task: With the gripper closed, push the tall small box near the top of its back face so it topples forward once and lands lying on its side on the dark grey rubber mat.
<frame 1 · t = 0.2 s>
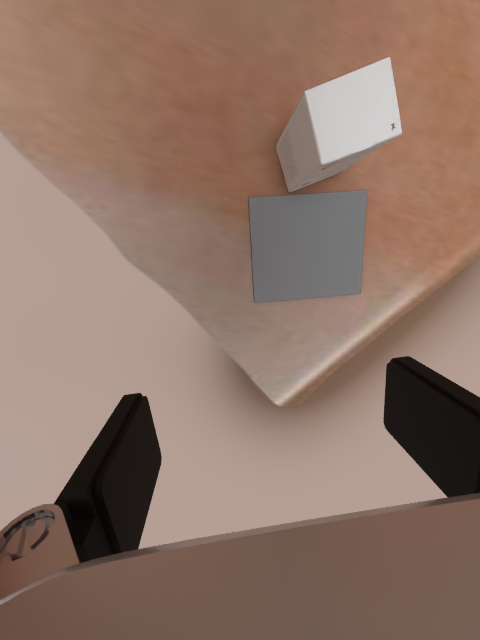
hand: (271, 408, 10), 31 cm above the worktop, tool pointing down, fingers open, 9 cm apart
small box: (307, 159, 36), on the worktop
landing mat: (307, 248, 39), on the worktop
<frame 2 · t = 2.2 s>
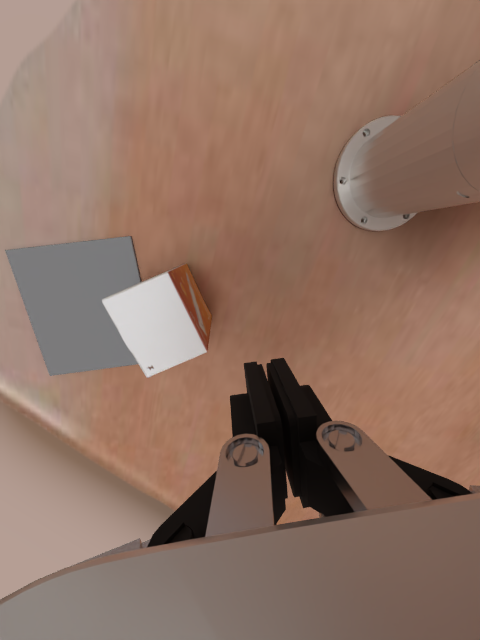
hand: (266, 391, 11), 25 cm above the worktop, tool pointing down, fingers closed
small box: (179, 298, 35), on the worktop
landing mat: (89, 309, 34), on the worktop
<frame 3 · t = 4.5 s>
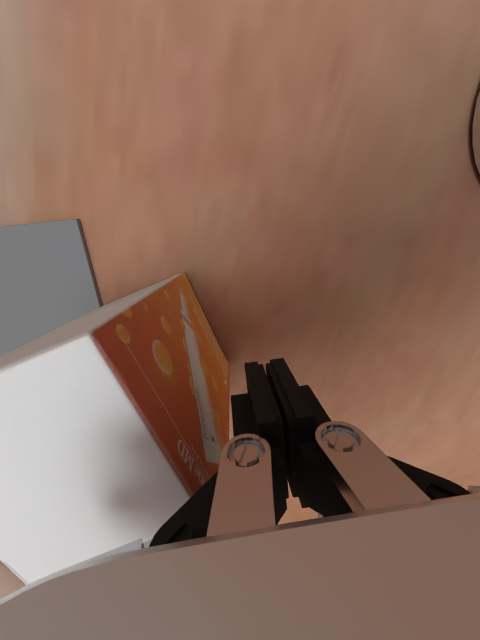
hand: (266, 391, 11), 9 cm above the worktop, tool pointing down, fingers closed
small box: (172, 334, 20), on the worktop, touching gripper
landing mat: (8, 353, 19), on the worktop
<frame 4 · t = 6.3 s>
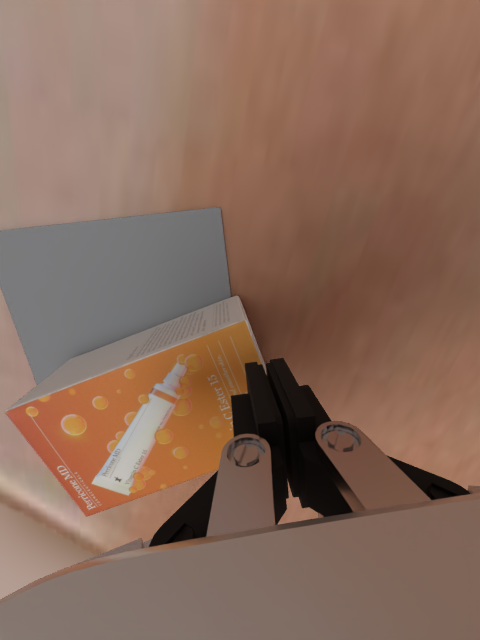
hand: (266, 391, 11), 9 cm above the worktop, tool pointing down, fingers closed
small box: (267, 358, 16), point 4 cm above the worktop, touching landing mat
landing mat: (134, 342, 19), on the worktop
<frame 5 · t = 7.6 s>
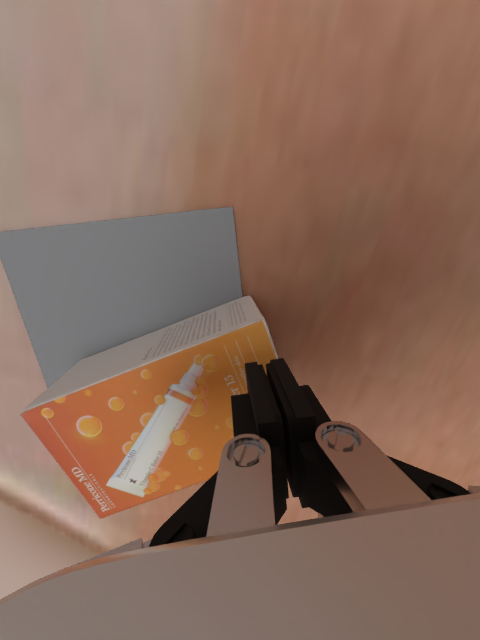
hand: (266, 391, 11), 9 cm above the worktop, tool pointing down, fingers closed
small box: (280, 358, 16), point 4 cm above the worktop, touching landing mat
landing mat: (144, 342, 19), on the worktop
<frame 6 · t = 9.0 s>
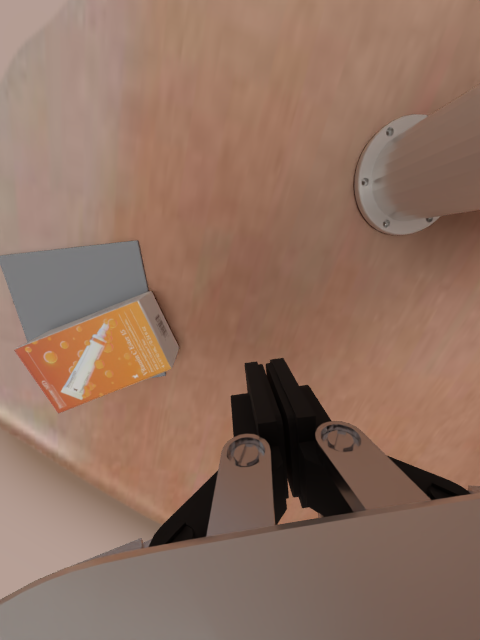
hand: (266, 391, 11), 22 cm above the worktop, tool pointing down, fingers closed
small box: (163, 326, 29), point 4 cm above the worktop, touching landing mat
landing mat: (90, 320, 31), on the worktop
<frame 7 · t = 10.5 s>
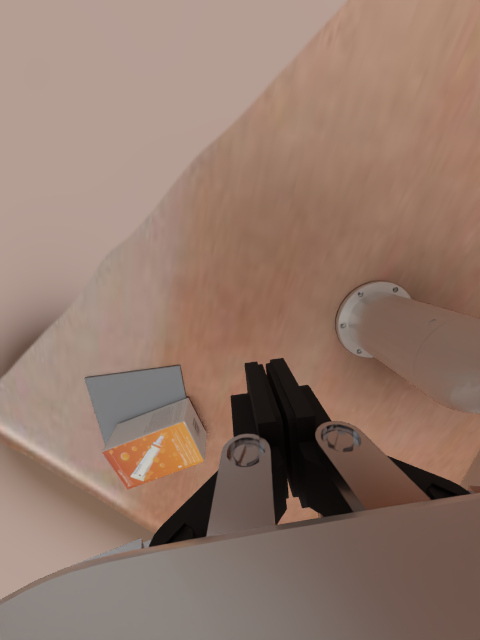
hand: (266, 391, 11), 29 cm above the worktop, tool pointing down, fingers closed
small box: (197, 427, 41), point 4 cm above the worktop, touching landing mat
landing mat: (144, 415, 44), on the worktop
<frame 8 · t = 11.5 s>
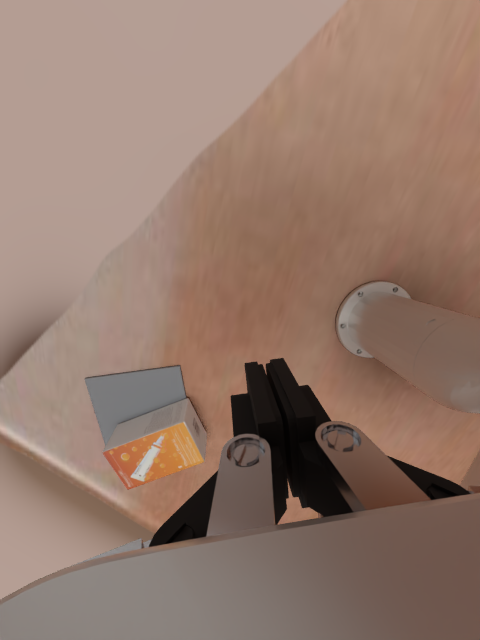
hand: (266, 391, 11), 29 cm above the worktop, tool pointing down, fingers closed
small box: (198, 427, 41), point 4 cm above the worktop, touching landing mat
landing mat: (144, 416, 44), on the worktop
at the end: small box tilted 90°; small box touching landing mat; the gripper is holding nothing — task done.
